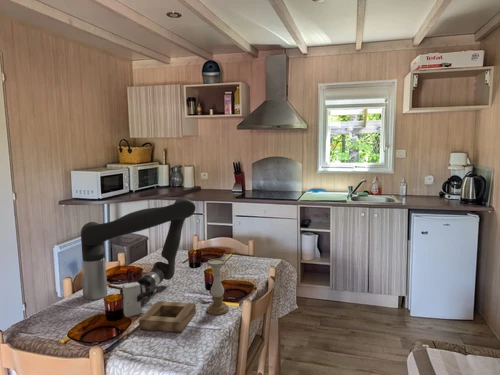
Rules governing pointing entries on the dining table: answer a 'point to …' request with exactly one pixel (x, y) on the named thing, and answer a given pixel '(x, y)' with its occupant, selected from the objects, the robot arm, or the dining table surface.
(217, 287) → the candle holder
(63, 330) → the dining table surface
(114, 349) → the dining table surface
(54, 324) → the dining table surface
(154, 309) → the walnut holder
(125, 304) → the skincare box
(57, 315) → the dining table surface
